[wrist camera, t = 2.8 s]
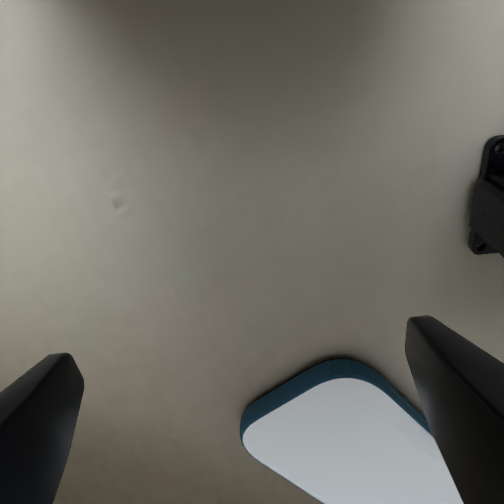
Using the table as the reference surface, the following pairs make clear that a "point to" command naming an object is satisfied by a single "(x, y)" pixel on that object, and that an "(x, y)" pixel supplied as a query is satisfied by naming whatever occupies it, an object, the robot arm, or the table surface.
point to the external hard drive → (348, 439)
